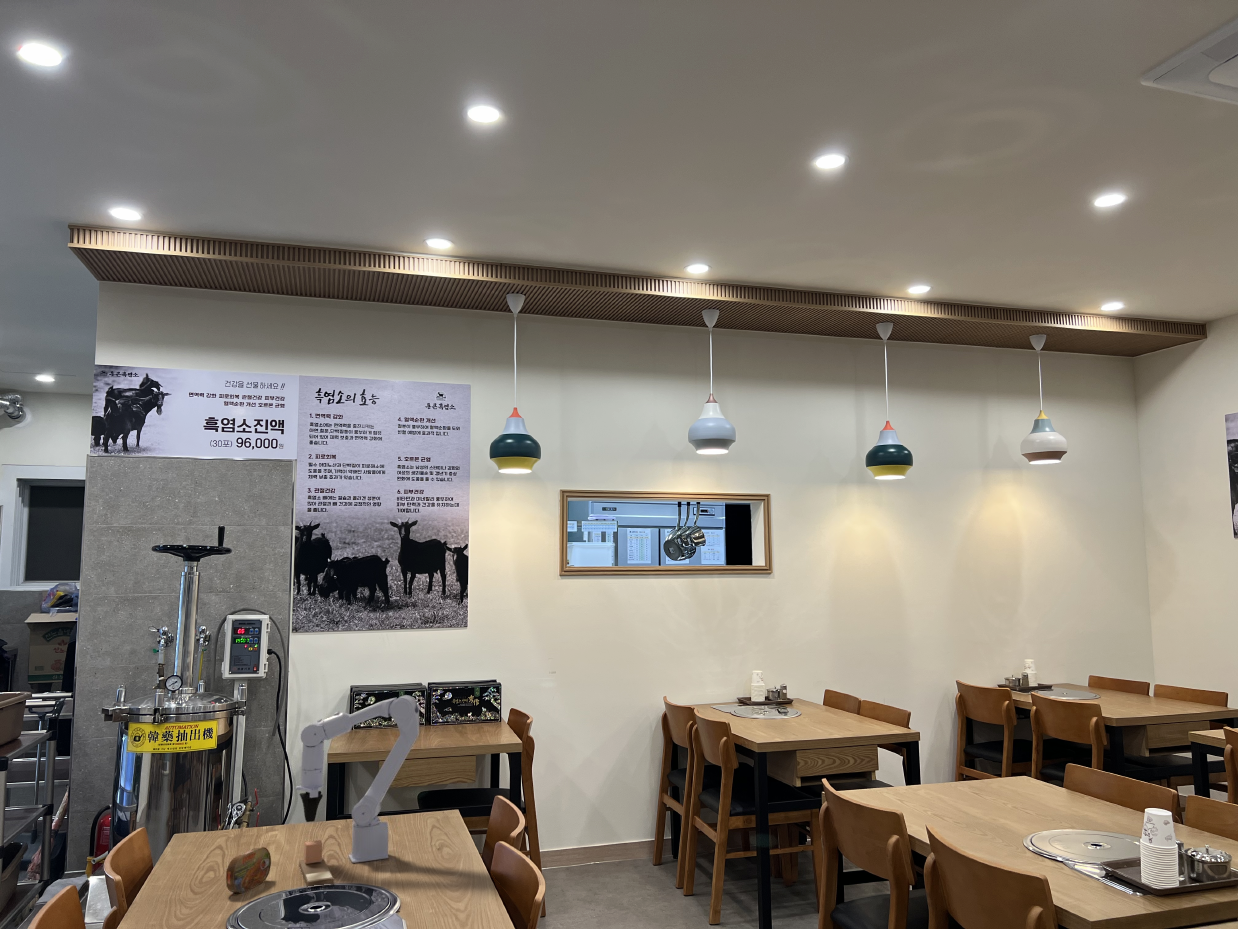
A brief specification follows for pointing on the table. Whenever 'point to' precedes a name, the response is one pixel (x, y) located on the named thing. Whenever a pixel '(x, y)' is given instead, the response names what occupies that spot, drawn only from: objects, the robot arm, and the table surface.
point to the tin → (248, 870)
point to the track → (316, 873)
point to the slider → (313, 851)
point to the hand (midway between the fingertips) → (309, 820)
